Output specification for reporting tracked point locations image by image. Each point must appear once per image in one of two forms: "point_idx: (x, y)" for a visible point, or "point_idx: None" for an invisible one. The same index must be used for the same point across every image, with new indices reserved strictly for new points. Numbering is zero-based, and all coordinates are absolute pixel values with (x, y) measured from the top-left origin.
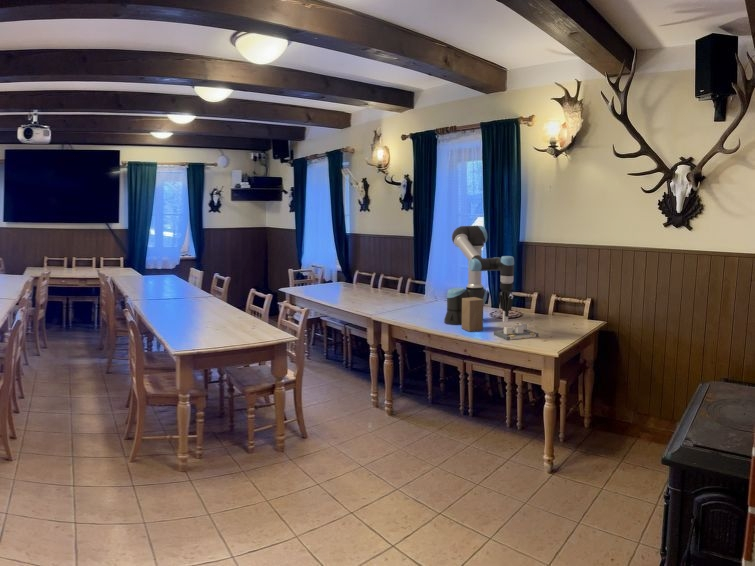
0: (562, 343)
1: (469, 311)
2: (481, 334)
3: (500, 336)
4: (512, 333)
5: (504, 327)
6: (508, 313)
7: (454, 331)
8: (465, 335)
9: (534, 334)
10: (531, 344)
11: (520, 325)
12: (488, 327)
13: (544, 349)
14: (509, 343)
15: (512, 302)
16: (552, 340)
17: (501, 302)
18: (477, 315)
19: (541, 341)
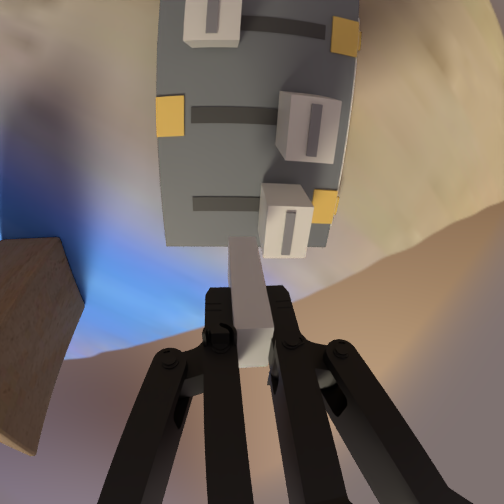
0: (493, 42)
1: (49, 397)
2: (141, 284)
3: None
4: (268, 158)
5: (272, 256)
6: (293, 312)
7: (74, 341)
8: (145, 342)
9: (358, 29)
10: (443, 175)
11: (218, 42)
12: (3, 172)
13: (499, 188)
14: (370, 256)
15: (421, 446)
16: (446, 20)
17: (171, 461)
18: (34, 338)
19: (437, 82)
